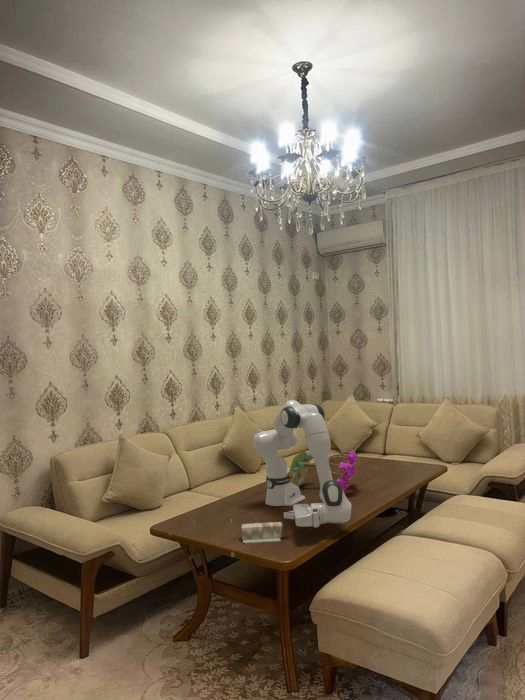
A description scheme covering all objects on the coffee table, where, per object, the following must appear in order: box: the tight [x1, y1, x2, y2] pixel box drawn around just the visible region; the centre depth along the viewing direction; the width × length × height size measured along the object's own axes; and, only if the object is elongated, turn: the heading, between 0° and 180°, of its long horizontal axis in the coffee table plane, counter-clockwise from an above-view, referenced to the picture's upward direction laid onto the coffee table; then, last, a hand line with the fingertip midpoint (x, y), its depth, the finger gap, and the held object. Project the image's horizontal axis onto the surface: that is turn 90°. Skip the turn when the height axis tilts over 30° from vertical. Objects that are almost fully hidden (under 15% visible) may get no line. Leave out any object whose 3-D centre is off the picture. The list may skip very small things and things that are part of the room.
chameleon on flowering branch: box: [287, 451, 358, 493], centre depth 297 cm, size 30×28×35 cm
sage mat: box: [242, 537, 281, 544], centre depth 230 cm, size 16×12×1 cm
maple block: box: [241, 521, 284, 540], centre depth 230 cm, size 5×5×18 cm
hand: (283, 515), depth 230 cm, fingers closed
